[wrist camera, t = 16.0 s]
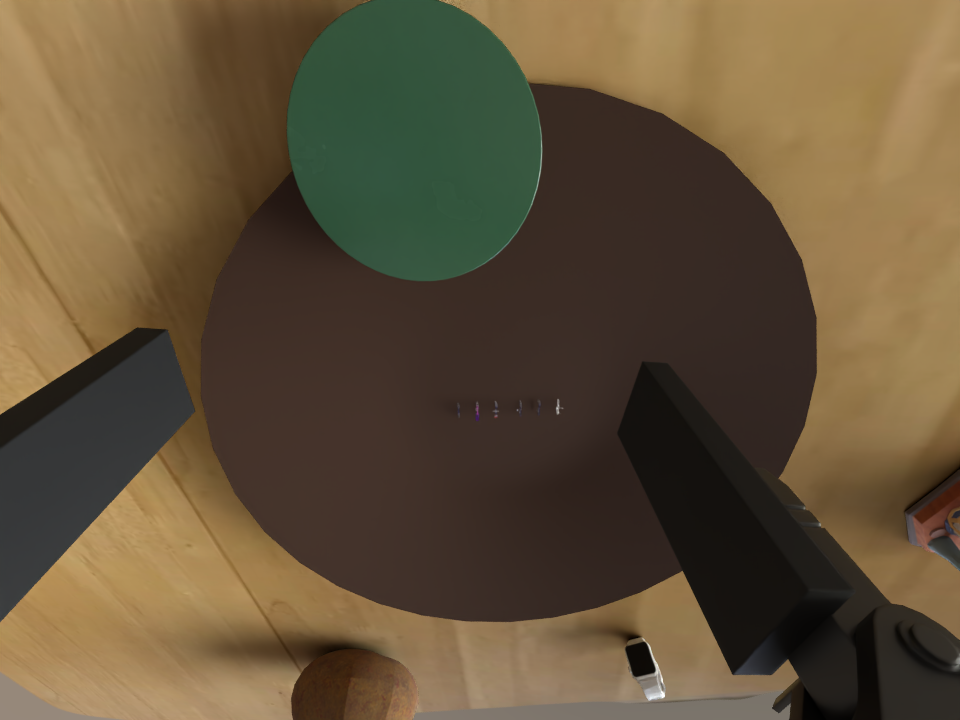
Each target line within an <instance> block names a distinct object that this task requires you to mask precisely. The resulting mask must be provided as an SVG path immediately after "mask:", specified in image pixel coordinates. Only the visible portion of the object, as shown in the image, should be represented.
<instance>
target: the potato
mask: <svg viewBox="0 0 960 720" xmlns="http://www.w3.org/2000/svg"><path fill="white" fill-rule="evenodd" d="M291 703H292V716H293V720H413V717H414V715H415V712H416V709H417V707H418V704H419V700H418V688H417V685H416V682H415V680H414V677H413V675H412V674H411V672H410V671H409V670H408V669H407V668H406V667H405V666H404V665H402V664H401V663H400V662H398V661H396V660H393V659H391V658H387V657H384V656H381V655H379V654H377V653H374V652H372V651H367V650H362V649H343V650H337V651H334V652H330V653H328V654H325V655H323V656H321V657H319V658H317V659H316V660H314V661H313V662H312V663H310V664H309V665H308V666H307V667H306V668H305V669H304V670H303V672H302V673H301V675H300V677H299V678H298V680H297V681H296V683H295V685H294V689H293V693H292V697H291Z"/></svg>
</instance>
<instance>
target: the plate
mask: <svg viewBox="0 0 960 720" xmlns="http://www.w3.org/2000/svg"><path fill="white" fill-rule="evenodd" d="M529 87H530V89H531V92H532V94H533V97H534V100H535V104H536V107H537V111H538V114H539V120H540V127H541V133H542V164H541V173H540V178H539V183H538V188H537V191H536V194H535V198H534V201H533V204H532V206H531V208H530V210H529V212H528V215H527V217H526V219H525V221H524V222H523V224H522V225H521V227H520V229H519V230H518V232H517V233H516V234H515V236H514V237H513V238H512V239H511V241H510V242H509V243H508V244H507V245H506V246H505V247H504V248H503V249H502V250H501V251H500V252H499V253H498V254H497V255H496V256H494V257H493V258H492V259H490V260H489V261H488V262H486V263H485V264H483V265H481V266H480V267H478V268H476V269H474V270H472V271H470V272H468V273H465V274H463V275H460V276H457V277H453V278H449V279H444V280H437V281H413V280H404V279H400V278H396V277H392V276H388V275H386V274H383V273H380V272H378V271H375V270H373V269H371V268H369V267H367V266H366V265H364V264H362V263H360V262H359V261H357V260H356V259H354V258H353V257H351V256H350V255H348V254H347V253H346V252H345V251H344V250H343V249H341V248H340V247H339V246H338V245H337V244H336V243H335V242H334V241H333V240H332V239H331V238H330V237H329V236H328V235H327V234H326V233H325V232H324V230H323V229H322V228H321V226H320V225H319V224H318V222H317V221H316V220H315V218H314V217H313V215H312V213H311V212H310V210H309V208H308V207H307V205H306V203H305V201H304V199H303V197H302V195H301V192H300V190H299V188H298V185H297V182H296V179H295V176H294V173H293V171H292V172H291V173H290V174H289V175H288V176H287V177H286V178H285V180H284V181H283V182H282V183H281V184H280V185H279V186H278V187H277V188H276V190H275V191H274V192H273V193H272V194H271V195H270V196H269V197H268V199H267V200H266V201H265V202H264V203H263V204H262V205H261V206H260V207H259V209H258V210H257V211H256V212H255V213H254V214H253V215H252V216H251V218H250V219H249V220H248V222H247V224H246V225H245V227H244V229H243V231H242V233H241V235H240V237H239V239H238V240H237V242H236V244H235V246H234V248H233V250H232V252H231V253H230V255H229V257H228V259H227V261H226V263H225V265H224V267H223V268H222V270H221V272H220V274H219V276H218V278H217V280H216V284H215V288H214V292H213V296H212V300H211V304H210V308H209V312H208V316H207V319H206V323H205V327H204V331H203V335H202V339H201V399H202V403H203V407H204V412H205V416H206V420H207V425H208V429H209V433H210V438H211V442H212V446H213V449H214V451H215V454H216V456H217V458H218V460H219V462H220V464H221V466H222V468H223V470H224V472H225V474H226V476H227V478H228V480H229V482H230V484H231V486H232V488H233V491H234V493H235V494H236V496H237V497H238V498H239V499H240V501H241V502H242V503H243V505H244V506H245V507H246V508H247V510H248V511H249V512H250V514H251V515H252V516H253V517H254V519H255V520H256V521H257V523H258V524H259V525H260V526H261V528H262V529H263V530H264V532H265V533H267V534H268V535H269V536H270V537H271V538H272V539H273V540H275V541H276V542H277V543H278V544H279V545H280V546H281V547H283V548H284V549H285V550H286V551H287V552H288V553H289V554H290V555H292V556H293V557H294V558H295V559H296V560H297V561H298V562H300V563H301V564H303V565H304V566H306V567H308V568H309V569H311V570H313V571H314V572H316V573H317V574H319V575H321V576H322V577H324V578H326V579H327V580H329V581H330V582H332V583H334V584H335V585H337V586H339V587H341V588H343V589H346V590H348V591H350V592H353V593H355V594H358V595H360V596H362V597H365V598H367V599H369V600H372V601H374V602H376V603H379V604H382V605H386V606H390V607H393V608H397V609H401V610H404V611H408V612H412V613H416V614H419V615H424V616H431V617H438V618H446V619H453V620H461V621H484V622H514V621H523V620H533V619H543V618H553V617H558V616H562V615H567V614H571V613H576V612H580V611H585V610H589V609H594V608H598V607H601V606H603V605H606V604H609V603H612V602H615V601H618V600H620V599H623V598H626V597H629V596H632V595H634V594H637V593H640V592H642V591H644V590H646V589H648V588H650V587H652V586H654V585H656V584H658V583H660V582H662V581H664V580H666V579H668V578H669V577H671V576H673V575H675V574H677V573H679V572H681V571H683V570H682V568H681V566H680V564H679V562H678V560H677V558H676V556H675V553H674V551H673V549H672V547H671V545H670V543H669V541H668V539H667V537H666V535H665V533H664V530H663V528H662V526H661V524H660V522H659V520H658V518H657V516H656V514H655V512H654V510H653V508H652V505H651V503H650V501H649V499H648V497H647V495H646V493H645V491H644V489H643V487H642V485H641V482H640V480H639V478H638V476H637V474H636V472H635V470H634V468H633V466H632V464H631V462H630V460H629V457H628V455H627V453H626V451H625V449H624V447H623V445H622V443H621V441H620V439H619V437H618V435H617V432H618V429H619V426H620V424H621V421H622V418H623V415H624V412H625V409H626V406H627V404H628V401H629V398H630V395H631V392H632V389H633V386H634V384H635V381H636V378H637V375H638V372H639V369H640V366H641V364H642V361H646V362H661V363H668V364H669V365H670V366H671V368H672V369H673V370H674V371H675V373H676V374H677V375H678V376H679V377H680V379H681V380H682V381H683V382H684V383H685V385H686V386H687V387H688V388H689V390H690V391H691V392H692V393H693V394H694V396H695V397H696V398H697V399H698V400H699V402H700V403H701V404H702V405H703V407H704V408H705V409H706V410H707V411H708V413H709V414H710V415H711V416H712V417H713V419H714V420H715V421H716V422H717V423H718V425H719V426H720V427H721V428H722V430H723V431H724V432H725V433H726V434H727V436H728V437H729V438H730V439H731V440H732V442H733V443H734V444H735V445H736V447H737V448H738V449H739V450H740V451H741V453H742V454H743V455H744V456H745V457H746V459H747V460H748V461H749V462H750V464H751V465H752V466H753V467H754V468H765V469H766V470H767V471H769V472H770V473H771V474H773V475H774V476H775V477H777V478H779V476H780V475H781V474H782V472H783V470H784V468H785V466H786V464H787V462H788V460H789V458H790V456H791V454H792V451H793V449H794V447H795V445H796V443H797V441H798V439H799V437H800V434H801V432H802V430H803V428H804V426H805V422H806V417H807V413H808V409H809V405H810V400H811V396H812V392H813V387H814V383H815V379H816V374H817V349H816V314H815V310H814V306H813V302H812V298H811V294H810V291H809V287H808V283H807V279H806V275H805V271H804V267H803V263H802V259H801V258H800V256H799V254H798V252H797V250H796V248H795V247H794V245H793V243H792V241H791V239H790V237H789V236H788V234H787V232H786V230H785V228H784V226H783V225H782V223H781V221H780V219H779V217H778V215H777V214H776V212H775V210H774V208H773V206H772V204H771V203H770V202H769V201H768V200H767V199H766V198H765V197H764V195H763V194H762V193H761V192H760V191H759V190H758V189H757V188H756V187H755V186H754V185H753V184H752V183H751V182H750V181H749V179H748V178H747V177H746V176H745V175H744V174H743V173H742V172H741V171H740V170H739V169H738V168H737V167H736V166H735V164H734V163H733V162H732V161H731V160H730V159H729V158H728V157H727V156H726V155H725V154H724V153H723V152H721V151H720V150H718V149H717V148H715V147H714V146H712V145H710V144H709V143H707V142H706V141H704V140H703V139H701V138H699V137H698V136H696V135H695V134H693V133H692V132H690V131H689V130H687V129H685V128H684V127H682V126H681V125H679V124H678V123H676V122H675V121H673V120H671V119H670V118H668V117H667V116H665V115H664V114H662V113H659V112H656V111H653V110H650V109H647V108H644V107H641V106H638V105H635V104H632V103H629V102H626V101H624V100H621V99H618V98H615V97H612V96H609V95H606V94H603V93H600V92H597V91H594V90H591V89H584V88H573V87H562V86H551V85H539V84H529Z"/></svg>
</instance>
